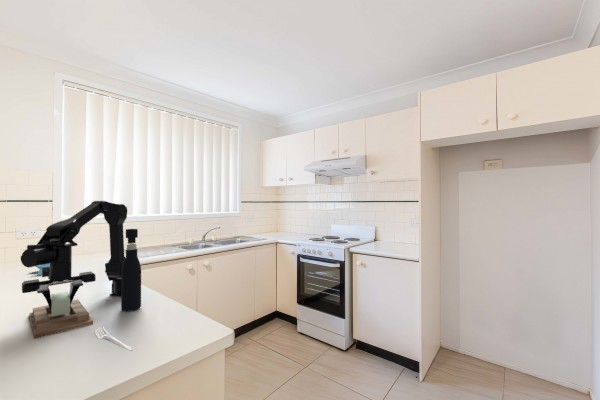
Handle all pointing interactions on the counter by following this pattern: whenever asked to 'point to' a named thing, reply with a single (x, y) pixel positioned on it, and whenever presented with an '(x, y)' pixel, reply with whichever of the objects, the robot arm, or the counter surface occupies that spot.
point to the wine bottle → (131, 275)
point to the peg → (60, 303)
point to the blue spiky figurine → (42, 267)
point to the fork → (110, 338)
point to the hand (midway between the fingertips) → (60, 306)
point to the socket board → (58, 320)
